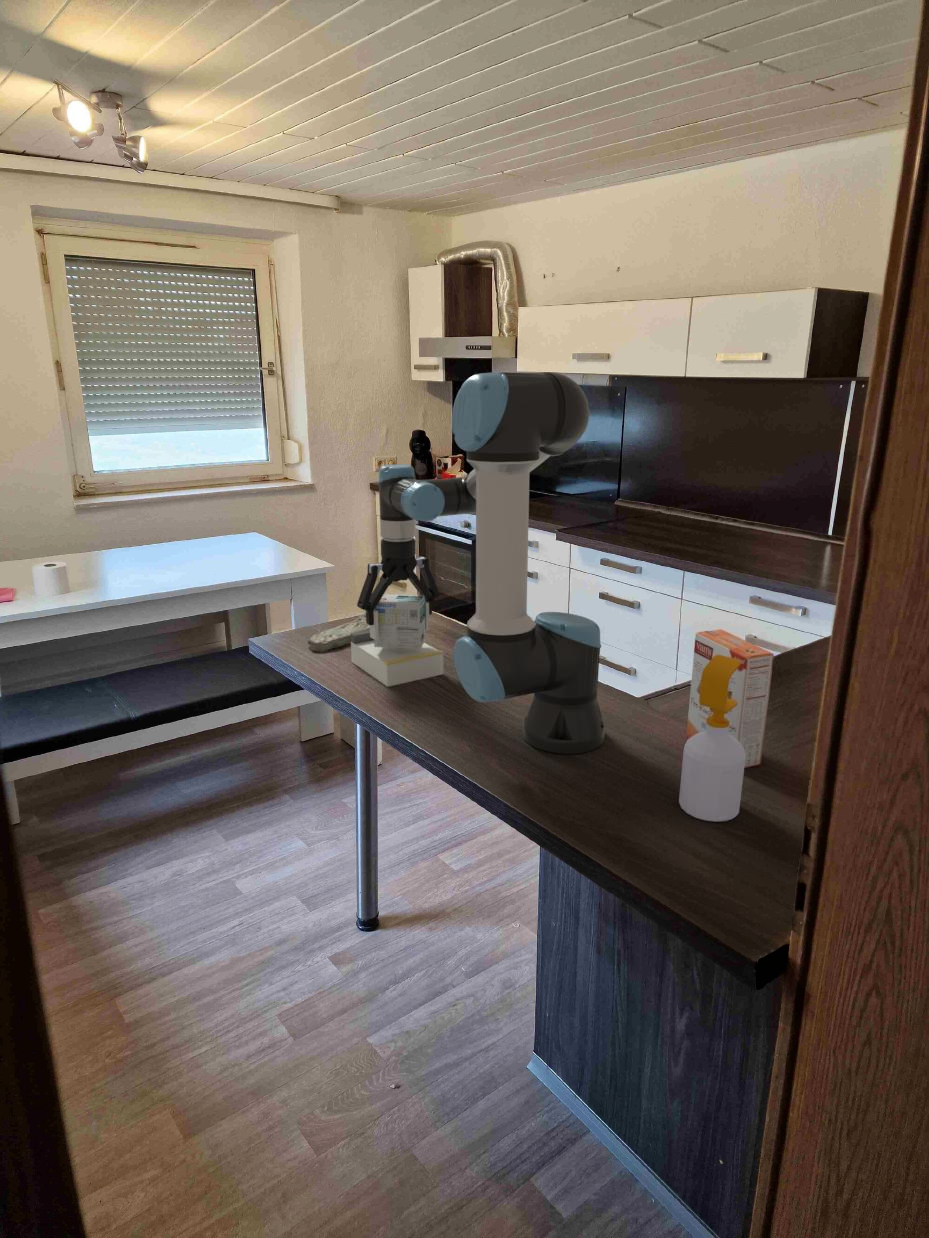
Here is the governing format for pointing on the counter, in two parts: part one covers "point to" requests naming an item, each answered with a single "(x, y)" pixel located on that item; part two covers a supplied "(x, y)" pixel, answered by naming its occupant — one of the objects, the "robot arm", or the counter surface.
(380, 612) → the light bulb box
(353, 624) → the elongated rock
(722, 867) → the counter surface
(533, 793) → the counter surface
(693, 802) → the soap bottle
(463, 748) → the counter surface
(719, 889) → the counter surface
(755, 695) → the cracker box
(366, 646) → the platform
